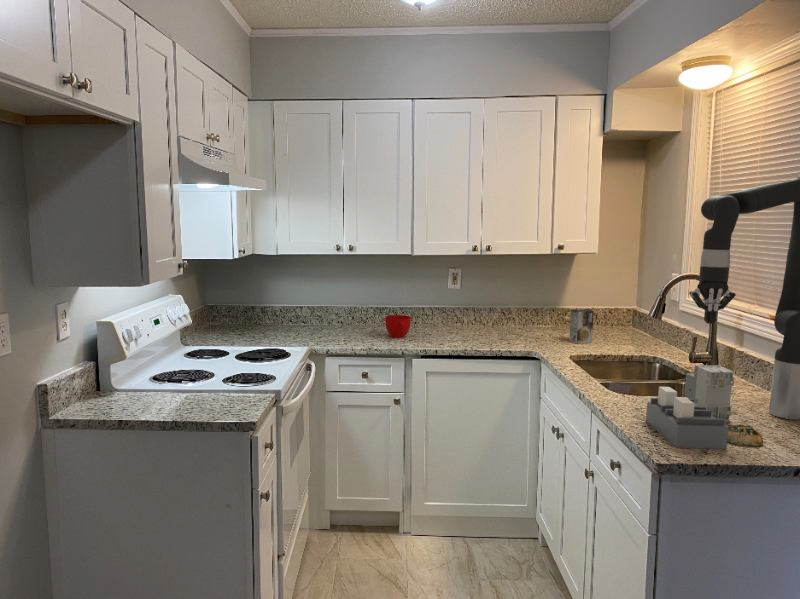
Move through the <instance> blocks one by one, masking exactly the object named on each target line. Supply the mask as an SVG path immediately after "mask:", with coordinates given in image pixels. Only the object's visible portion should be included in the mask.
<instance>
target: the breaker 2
mask: <svg viewBox="0 0 800 599" xmlns="http://www.w3.org/2000/svg"><path fill="white" fill-rule="evenodd" d="M694 404H695V403H693V402H692V401H690V400H689V399H688V398H687V397H685V396H684V397H682V396H681V397H679V396H677V397H675V398H674V409H673V415H674V416H675V417H676V418H677V417H682V418H693V415H694Z"/></svg>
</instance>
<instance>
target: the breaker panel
mask: <svg viewBox="0 0 800 599" xmlns="http://www.w3.org/2000/svg"><path fill="white" fill-rule="evenodd" d="M689 400H690V401H692V402H693V403H694V399H689ZM673 409H674V406H669V405H661V406H660V405H659V404H658V397H650V401H647V402H646V412H645V413H646V415H645V422H646V423H647V424H648V425H649V426H651V427H652V428H653V429H654V430H655V431H657V432H658V433H659V434H660V435H661V436H662V437H663V438H664V439H665V440H667V441H668V442H669V443H670V444H671V445H673V446H674V448H678V449H679V448H680V449H681V448H683V449H711V450H712V449H716V450H719V449H720V450H721V449H722V450H727V445H728V442H727V439H728V429H729V427H728V426H727V425H728V424H726V421H725V420H724V419H718V418H714V417H713V416H711V412H712V411H711V410H706V407H704V406H696V405H695V404H694V415H693V418H682V417H677V418H676V417H675V416H674V415H673Z"/></svg>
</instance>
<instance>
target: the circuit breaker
mask: <svg viewBox="0 0 800 599" xmlns="http://www.w3.org/2000/svg"><path fill="white" fill-rule="evenodd" d="M734 374H735V371H732V369H728V368H726V367H723V366H721V365H714V364H713V365H712V364H711V365H707V364H706V365H705V364H704V365H703V364H702V365H700V364H697V365H696V364H695V365H694V372H693V373H689V372H688V373H686V375H685V383H684V384H685V385H684V386H685V387H684V394H683V396H684V397H686V398H687V399H694V403H695V405H696V406H704V407H706V410H711V411H712V412H711V416H713V417H714V418H718V419H724V420H725V422H730V421H731V419H730V417H731V415H732V405H731V398H732V397H731V395H732V387H734V385H735V377H734Z"/></svg>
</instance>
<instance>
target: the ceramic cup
mask: <svg viewBox="0 0 800 599" xmlns="http://www.w3.org/2000/svg"><path fill="white" fill-rule="evenodd" d="M384 319H385V328H386V331H387V332H388V335H390V337H392V338H396V339H400V338H401V339H402V338H405V336H407V334H408V333H409V330H410V328H411V323H412V317H411V316H410V315H405V314H391V315H386V316H385V317H384Z"/></svg>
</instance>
